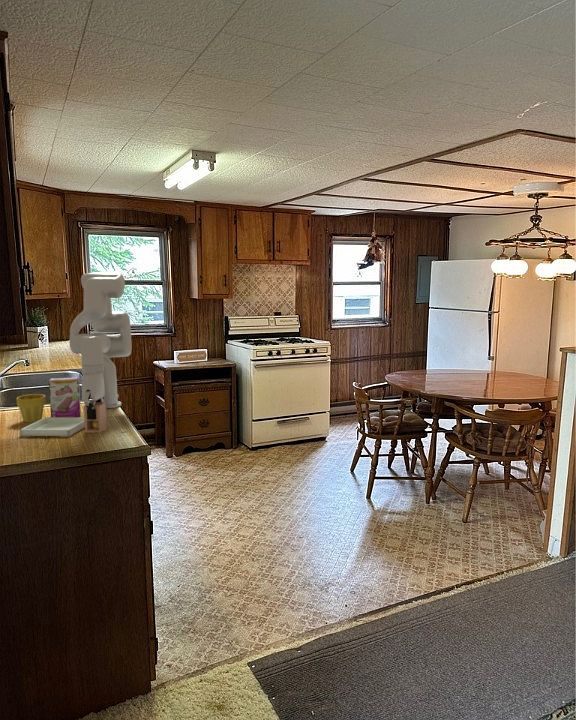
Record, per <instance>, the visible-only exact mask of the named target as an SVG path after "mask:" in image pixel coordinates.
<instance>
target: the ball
mask: <svg viewBox="0 0 576 720" xmlns="http://www.w3.org/2000/svg"><path fill="white" fill-rule="evenodd" d="M92 426H93V427H94V428H99V424H98V421H93V423H92Z"/></svg>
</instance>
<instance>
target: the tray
mask: <svg viewBox="0 0 576 720" xmlns="http://www.w3.org/2000/svg"><path fill="white" fill-rule="evenodd" d="M81 429H82V430H84V429H85V423H84V417H80V418H65V417H51V416H50V417H48V416H47V417H46V416H45V417H42V419H41V420H39V421H36V422H32V423H31V424H28V425H27V426H25V427H22V428H21V429H20V428H19V436H20V437H30V436H46V437H47V436H60V437H62V438H65V437H66V438H69V437H72V436H74V435H76V433H78V432H79V431H81ZM60 437H59V438H60Z"/></svg>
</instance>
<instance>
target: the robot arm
mask: <svg viewBox="0 0 576 720" xmlns="http://www.w3.org/2000/svg"><path fill="white" fill-rule="evenodd" d="M80 282H81V287H82V288H83V291H84V292H83V310H82V311H81V312H80V313H78V315H76V317H75V318H74V319H73V321H72V323H71V325H70V327H69V328H70V329H69V349H70V351H71V352H72V353H74V354H76V355H79V354H80V356H81V357H80V358H81V359H80V361H81V373H82V377H81V400H82V402H83V403H84V405H86V409H87V419H88V420H95V419H96V409H95V402H106V410H108V408H109V409H115V408H118V406H119V407H121V406H122V402H121V401H118V398H119V396H120V395H119V394H118V383H117V381H118V379H117V367H116V365H115V363H114V362H113V361H112V360H111V359H110V358H125V357H129V356H130V355H131V354H132V351H133V349H132V348H133V345H132V343H133V342H132V329H131V319H130V318H131V317H130V315H129V314H128V313H127V312H126V311H121V310H119V311H118V310H117V311H113V310H112V300H111V299H120V298H122V297H123V295H124V291H125V286H126V280H125V276H124V275H123V274H122V273H120V272H86V273H84V274H82V275H81V276H80ZM89 324H91V327H92V329H93V331H94V332H95V333H80V331H81V329H83V328H84V327H86V326H87V325H89ZM108 334H119V335H108ZM90 402H92V404H91V403H90Z"/></svg>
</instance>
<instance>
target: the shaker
mask: <svg viewBox="0 0 576 720" xmlns="http://www.w3.org/2000/svg"><path fill="white" fill-rule="evenodd" d="M90 403H91V404H92V402H90ZM95 409H96V419H95V420H88V419H87V409H86V405H85V404H84V405H83V418H84V423H85V428H84V433H95V432H101V433H103V432H104V431H105V429H106V428H107V429H108V414H107V410H108V409H106V402H95ZM93 421H98V424H99V428H94V427H93V426H92V423H93ZM107 429H106V430H107ZM102 431H103V432H102Z"/></svg>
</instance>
